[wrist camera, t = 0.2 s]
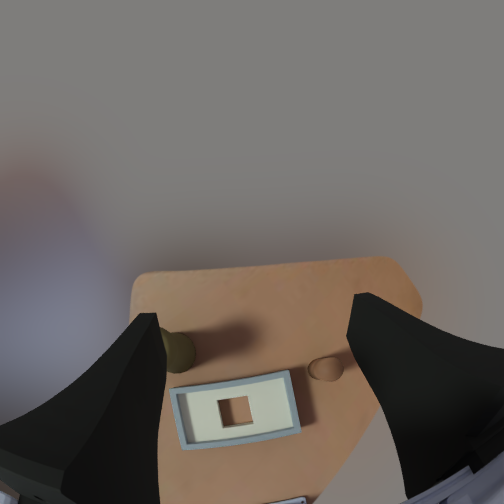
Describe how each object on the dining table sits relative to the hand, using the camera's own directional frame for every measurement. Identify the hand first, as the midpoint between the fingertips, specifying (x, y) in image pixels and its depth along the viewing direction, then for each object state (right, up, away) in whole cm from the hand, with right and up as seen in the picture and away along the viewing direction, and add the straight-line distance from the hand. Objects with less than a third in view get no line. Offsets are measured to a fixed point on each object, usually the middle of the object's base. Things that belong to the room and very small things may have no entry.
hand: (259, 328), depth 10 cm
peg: (+9, -14, +28) cm, 32 cm away
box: (-2, -19, +25) cm, 32 cm away
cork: (-11, -12, +28) cm, 33 cm away
